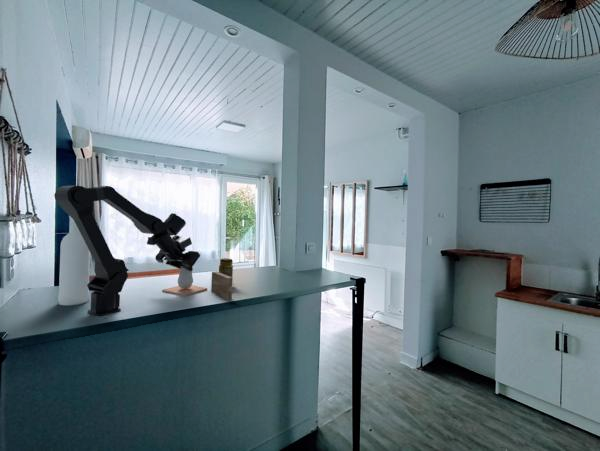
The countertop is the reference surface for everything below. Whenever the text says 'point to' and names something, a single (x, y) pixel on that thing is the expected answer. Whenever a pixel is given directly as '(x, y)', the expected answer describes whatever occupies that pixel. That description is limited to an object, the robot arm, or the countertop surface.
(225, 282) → the walnut backboard
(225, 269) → the condiment
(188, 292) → the terracotta mat
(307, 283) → the countertop surface
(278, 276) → the countertop surface
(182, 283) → the salt shaker
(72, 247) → the bottle
